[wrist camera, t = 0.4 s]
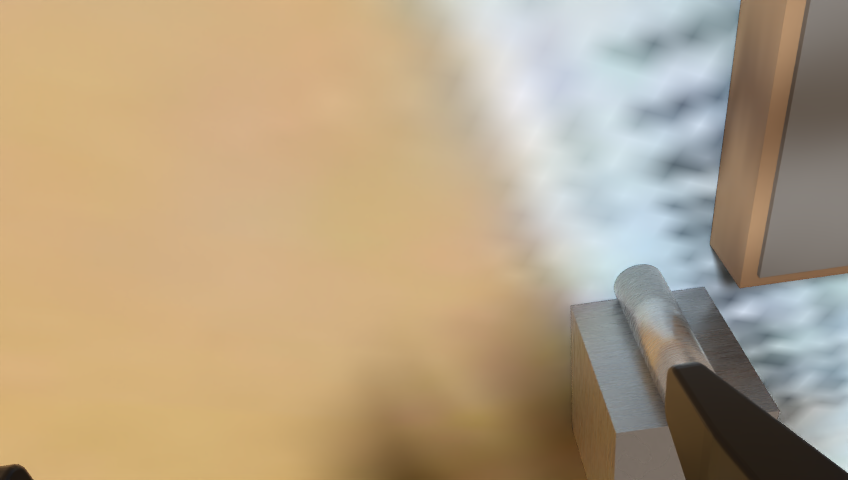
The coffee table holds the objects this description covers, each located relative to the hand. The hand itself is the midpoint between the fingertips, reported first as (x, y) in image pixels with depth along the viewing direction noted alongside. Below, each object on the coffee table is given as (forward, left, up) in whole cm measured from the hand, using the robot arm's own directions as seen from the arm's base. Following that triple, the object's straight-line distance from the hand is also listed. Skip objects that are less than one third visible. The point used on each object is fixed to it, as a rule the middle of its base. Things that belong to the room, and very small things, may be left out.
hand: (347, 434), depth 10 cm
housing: (-14, -9, -14) cm, 21 cm away
